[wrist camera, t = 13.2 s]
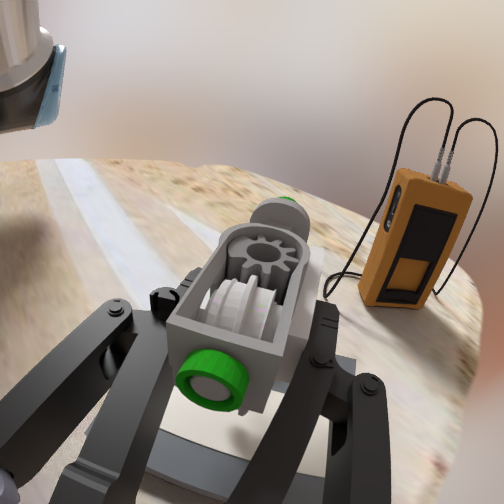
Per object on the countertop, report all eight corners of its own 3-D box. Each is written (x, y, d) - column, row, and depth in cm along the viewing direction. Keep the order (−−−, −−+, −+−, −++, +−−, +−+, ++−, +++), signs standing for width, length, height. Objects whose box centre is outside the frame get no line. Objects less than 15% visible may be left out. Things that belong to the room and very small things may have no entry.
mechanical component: (280, 346, 20) (319, 199, 14) (235, 497, 11) (282, 387, 6) (235, 334, 20) (257, 185, 15) (173, 477, 11) (143, 342, 6)
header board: (91, 443, 14) (73, 416, 12) (174, 320, 24) (173, 286, 22) (325, 524, 12) (350, 513, 10) (349, 371, 22) (366, 341, 20)
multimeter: (414, 261, 38) (464, 114, 27) (446, 312, 29) (521, 137, 19) (309, 247, 37) (349, 73, 26) (324, 305, 28) (388, 77, 18)
